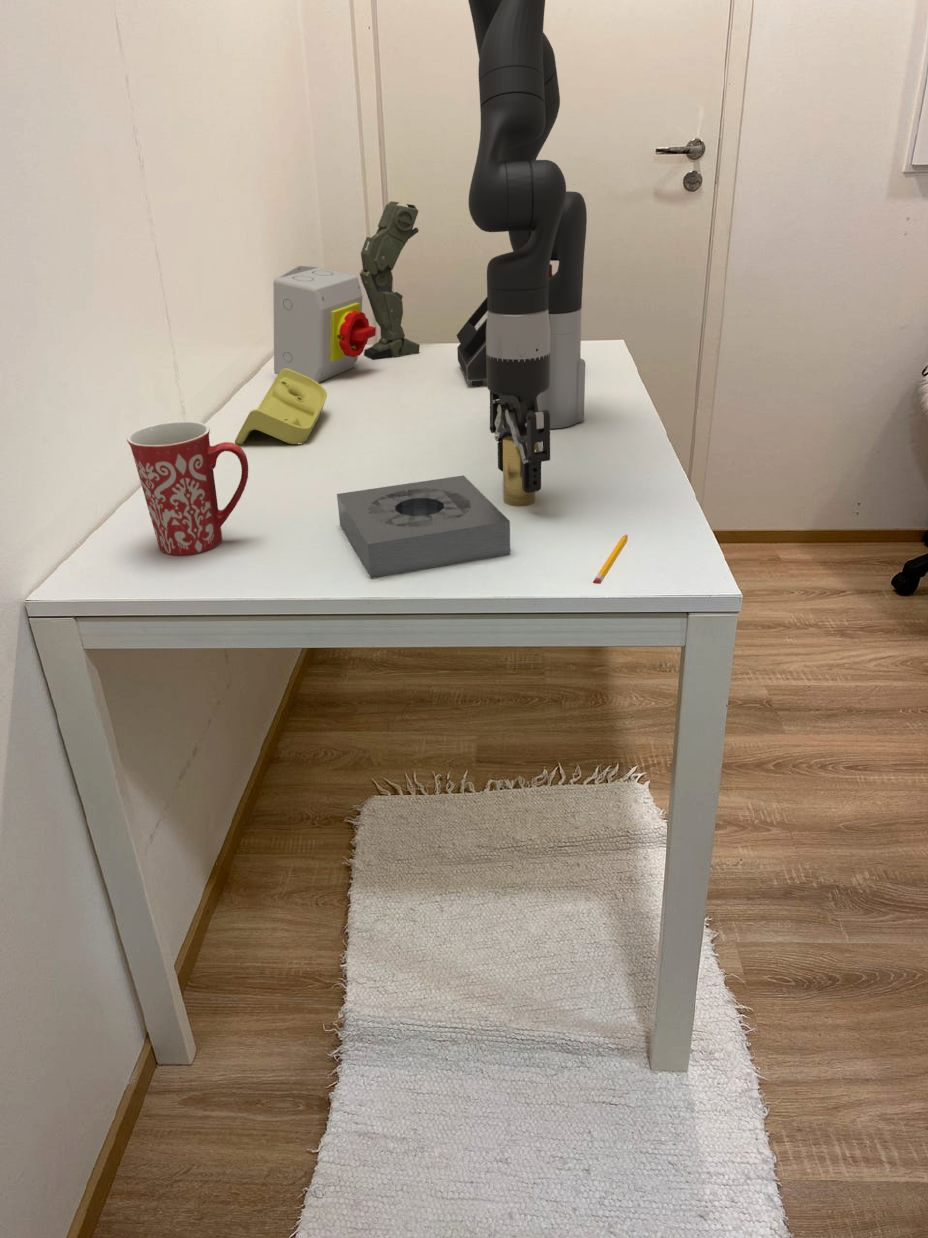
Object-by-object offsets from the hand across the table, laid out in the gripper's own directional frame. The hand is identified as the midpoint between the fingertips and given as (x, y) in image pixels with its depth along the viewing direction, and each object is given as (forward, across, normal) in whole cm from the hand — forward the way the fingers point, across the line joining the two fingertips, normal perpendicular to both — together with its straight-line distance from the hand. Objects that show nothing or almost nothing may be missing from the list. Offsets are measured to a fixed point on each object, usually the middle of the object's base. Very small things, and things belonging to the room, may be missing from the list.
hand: (518, 480), depth 118 cm
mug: (+3, +2, +39) cm, 39 cm away
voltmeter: (+3, +61, -21) cm, 65 cm away
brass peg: (+3, 0, 0) cm, 3 cm away
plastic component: (+3, +44, +22) cm, 50 cm away
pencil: (+3, -20, -3) cm, 21 cm away
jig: (+3, -7, +15) cm, 17 cm away
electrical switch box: (+3, +76, +9) cm, 77 cm away
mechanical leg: (+3, +88, -7) cm, 88 cm away
